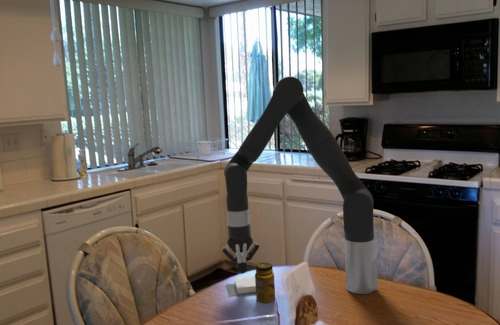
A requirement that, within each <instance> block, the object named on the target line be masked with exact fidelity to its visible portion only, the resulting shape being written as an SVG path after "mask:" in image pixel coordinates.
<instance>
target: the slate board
mask: <svg viewBox="0 0 500 325" xmlns="http://www.w3.org/2000/svg"><path fill="white" fill-rule="evenodd" d="M225 288H226V291H227V295H228V297H229V298H233V297H239V296H247V295H256V292H250V293H242V294H238V293H237V290H236V287H235V283H229V284H225Z"/></svg>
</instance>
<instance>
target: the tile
mask: <svg viewBox="0 0 500 325" xmlns="http://www.w3.org/2000/svg"><path fill="white" fill-rule="evenodd" d="M233 280H234V284H235V287H236V290H237V293H238V294H242V293H250V292H256V283H255V275H254V276H248V277H240V278H239V277H238V278H234V279H233Z"/></svg>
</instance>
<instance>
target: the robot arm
mask: <svg viewBox="0 0 500 325" xmlns="http://www.w3.org/2000/svg"><path fill="white" fill-rule="evenodd" d="M286 115H288V116H289V117H290V119H291V120H292V122H293V123H294V125H295V127H296V129H297V131H298V133H299V135H300V137H301V139H302V141H303V143H304V145H305V146H306V148H307V150H308V152H309V154H310V155H311V156H312V158H313V159H314V161H315V163H316V164H317V165H318V166H319V168H320V169H321V170H322V171H323V172H324V173H325V174H326V175H327V176H328V177H329V178H330V179H331V180H332V181H333V183H334V184H335V186H336V187H337V189H338V191H339V193H340V194H341V197H342V199H343V203H342V215H343V217H342V218H343V220H342V221H343V232H344V255H345V257H344V258H345V259H344V260H345V261H344V262H345V285H346V286H345V288H346V290H347V291H348V292H350V293H351V294H357V295H367V294H371V293H373V292H374V291H378V263H377V261H376V260H375V232H374V230H375V229H374V228H375V227H374V198H373V195H372V192H370V191H369V190H368V188H367V187H366V185H365V184H364V183H363V182H362V181H361V179H360V178H359V176H358V175H357V174H356V173H355V171H354V170H353V168H352V166H351V164H350V162H349V159H348V158H347V156H346V154H345V153H344V150H343V149H342V147H341V146H340V144H339V143H338V140H337V139H336V138H335V136H334V135H333V133H332V131H331V130H330V129H329V128H328V126H327V125H326V124H325V123H324V121H322V120H321V119H320V117H319V116H318V115H317V113H315V112H314V110H313V108H312V107H311V104H310V103H309V101H308V99H307V98H306V95H305V92H304V85H303V83H302V81H301V80H300V79H299V78H298V77H296V76H290V75H289V76H288V75H287V76H284V77H283V78H280V79H279V81H277V83H276V85H275V87H274V91H273V93H272V95H271V98H270V99H269V102H268V103H267V106H266V107H265V110H264V111H263V112H262V113H261V115H260V117H259V118H258V120H257V122H256V123H254V125H253V127H252V128H251V129H250V131H249V132H248V133H247V136H246V137H245V138H244V140H243V141H242V143H241V145H240V146H239V148H238V150H237V151H236V153H235V154H233V156H232V157H231V159H230V160H228V162H227V164H226V165H225V168H224V172H223V174H224V179H225V180H224V181H225V188H226V210H227V211H226V222H227V223H226V224H227V237H228V240H226V243H227V244H225V245H224V246H222V247H221V251H222V252H223V253H224V255H225V256H226V257H227V258H228V259H229V260H230V261H231V262H233V263H236V267H237V268H236V269H237V272H238V273H240V274H245V273H246V272H247V271H248V270H247V262H248V261H251V260H252V259H253V257H254V256H255V254H256V253H257V251H258V250H259V249H260V245H259V243H258V242H255V241H254V240H253V238H252V231H251V216H250V210H249V199H248V171H249V169H251V168H250V167H252V165H253V164H254V163H255V162H256V161H257V160H258V159H259V158H260V156H261V155H262V154H263V152H264V150H265V149H266V147H267V145H269V143H270V141H271V140H272V137H273V135H274V133H275V132H276V130H277V128H278V127H279V124H280V123H281V122H282V120H283V119H284V117H285V116H286ZM250 248H251V249H250ZM249 249H250V250H249ZM230 250H232V251H233V253H235V256H234V255H233V254H232V253H231V252H230Z"/></svg>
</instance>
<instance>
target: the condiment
mask: <svg viewBox="0 0 500 325" xmlns="http://www.w3.org/2000/svg"><path fill="white" fill-rule="evenodd" d="M273 270H274V269H273V265H272V263H270V262H259V263H257V264H256V265H255V274H254V276H255V283H256V294H255V297H256V302H258V303H260V304H269V303H270V304H271V303H272V302H274V301H275V299H276V288H275V273H274V271H273Z"/></svg>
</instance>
